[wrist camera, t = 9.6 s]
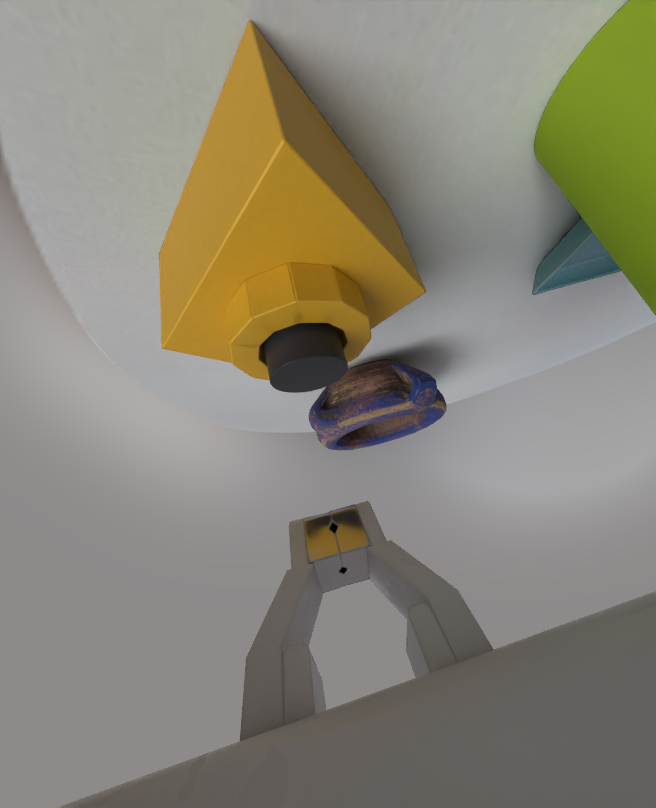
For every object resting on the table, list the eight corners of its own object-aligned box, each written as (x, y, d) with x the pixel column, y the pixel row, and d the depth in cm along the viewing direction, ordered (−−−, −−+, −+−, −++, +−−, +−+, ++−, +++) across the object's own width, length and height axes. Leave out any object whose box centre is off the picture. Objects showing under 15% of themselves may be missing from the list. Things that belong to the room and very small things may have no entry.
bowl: (434, 319, 27) (471, 403, 24) (418, 376, 44) (438, 429, 41) (286, 369, 30) (301, 449, 27) (324, 404, 47) (336, 456, 44)
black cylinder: (297, 308, 9) (306, 347, 9) (353, 334, 12) (363, 366, 11) (249, 354, 12) (254, 387, 11) (305, 368, 14) (312, 395, 14)
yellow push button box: (249, 17, 8) (298, 188, 5) (390, 207, 14) (439, 321, 12) (158, 253, 14) (162, 382, 11) (286, 310, 20) (305, 399, 18)
